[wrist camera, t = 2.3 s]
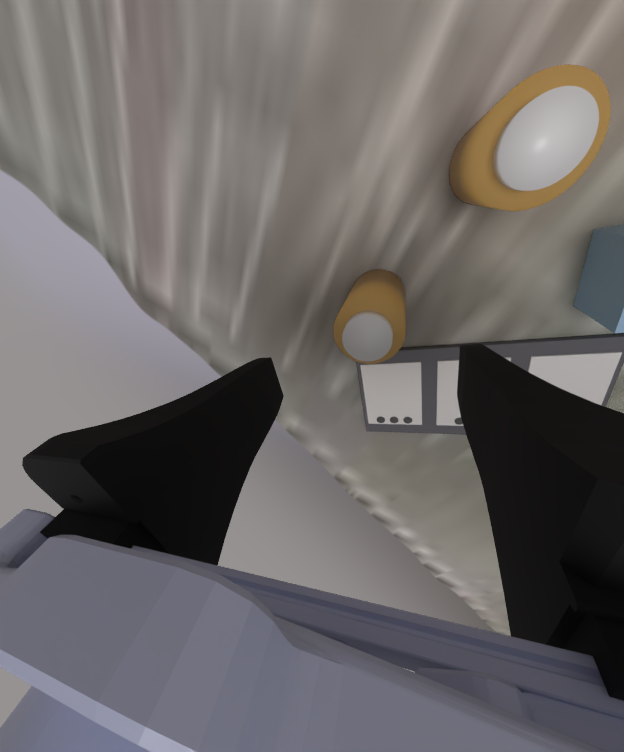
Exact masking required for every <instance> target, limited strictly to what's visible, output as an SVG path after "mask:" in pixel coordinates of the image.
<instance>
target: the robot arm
mask: <svg viewBox="0 0 624 752" xmlns="http://www.w3.org/2000/svg"><path fill="white" fill-rule="evenodd" d="M457 398H458V404H459V410H460V415H461V420H462V423H463V426H464V429H465V432H466V435H467V438H468V441H469V444H470V447H471V450H472V453H473V456H474V459H475V462H476V465H477V468H478V471H479V474H480V477H481V481H482V484H483V488H484V493H485V497H486V502H487V507H488V512H489V516H490V521H491V526H492V531H493V536H494V542H495V547H496V552H497V557H498V563H499V568H500V574H501V579H502V585H503V590H504V596H505V602H506V608H507V614H508V620H509V626H510V632H511V636H507V635H503V634H499V633H495V632H491V631H486V630H482V629H478V628H474V627H470V626H465V625H461V624H457V623H453V622H449V621H445V620H441V619H437V618H433V617H428V616H424V615H420V614H416V613H411V612H408V611H404V610H399V609H395V608H391V607H387V606H383V605H379V604H375V603H370V602H366V601H362V600H358V599H354V598H350V597H345V596H341V595H337V594H333V593H329V592H325V591H320V590H316V589H312V588H308V587H304V586H299V585H296V584H292V583H287V582H283V581H279V580H275V579H271V578H267V577H262V576H258V575H254V574H250V573H245V572H241V571H237V570H233V569H229V568H225V567H221V566H217V565H218V561H219V558H220V554H221V550H222V547H223V543H224V539H225V536H226V533H227V530H228V527H229V524H230V520H231V517H232V514H233V511H234V508H235V506H236V503H237V500H238V497H239V494H240V492H241V488H242V486H243V483H244V481H245V479H246V476H247V474H248V471H249V469H250V466H251V464H252V462H253V460H254V458H255V456H256V454H257V452H258V450H259V449H260V447H261V445H262V443H263V441H264V439H265V437H266V435H267V434H268V432H269V430H270V428H271V426H272V424H273V422H274V420H275V418H276V416H277V414H278V411H279V409H280V406H281V403H282V400H283V393H282V390H281V387H280V384H279V381H278V377H277V374H276V371H275V368H274V365H273V362H272V359H271V357H270V358H258V359H255V360H253V361H251V362H248V363H246V364H244V365H243V366H241V367H239V368H237V369H235V370H233V371H232V372H230V373H228V374H226V375H224V376H223V377H221V378H219V379H217V380H215V381H213V382H211V383H210V384H208V385H206V386H204V387H202V388H200V389H198V390H196V391H194V392H192V393H190V394H188V395H186V396H184V397H181V398H179V399H177V400H174V401H172V402H170V403H167V404H164V405H162V406H159V407H156V408H154V409H151V410H148V411H145V412H142V413H140V414H137V415H133V416H131V417H127V418H124V419H121V420H117V421H113V422H110V423H106V424H102V425H98V426H94V427H89V428H85V429H81V430H76V431H72V432H68V433H62V434H60V435H57V436H54V437H52V438H50V439H48V440H47V441H46V442H44V443H43V444H42V445H40V446H39V447H37V448H36V449H35V450H33V451H32V452H30V453H29V454H27V455H26V456H25V457H24V458H23V465H22V466H23V468H24V470H25V472H26V473H27V474H28V476H29V477H30V478H31V479H32V480H33V481H34V482H35V483H36V484H37V485H38V486H39V487H40V488H41V489H42V490H43V491H45V492H46V493H47V494H48V495H49V496H50V497H51V498H52V499H53V500H54V501H55V502H57V503H58V504H59V505H60V506H61V507H62V508H64V510H63V511H62V512H61V513H60V514H58V515H57V516H56V517H54V516H52V515H50V514H48V513H45V512H40V511H36V510H31V509H25V510H23V511H21V512H20V513H19V514H18V515H17V516H16V517H14V518H13V519H12V520H11V521H10V522H8V523H7V524H6V525H5V526H4V527H2V528H1V529H0V667H1V668H3V669H5V670H6V671H8V672H10V673H11V674H13V675H15V676H17V677H18V678H20V679H22V680H24V681H25V682H27V683H29V684H30V685H32V686H31V688H30V689H29V691H28V692H27V693H26V695H25V696H24V697H23V698H22V700H21V701H20V703H19V704H18V705H17V706H16V708H15V709H14V711H13V712H12V713H11V714H10V716H9V717H8V718H7V720H6V721H5V722H4V724H3V725H2V726H1V728H0V752H624V413H621V412H618V411H615V410H612V409H609V408H607V407H604V406H601V405H599V404H596V403H594V402H591V401H589V400H586V399H584V398H582V397H579V396H577V395H575V394H572V393H570V392H567V391H565V390H563V389H561V388H559V387H557V386H554V385H552V384H550V383H549V382H547V381H545V380H543V379H541V378H539V377H537V376H535V375H533V374H531V373H529V372H528V371H526V370H524V369H522V368H520V367H519V366H517V365H515V364H514V363H512V362H510V361H509V360H507V359H505V358H504V357H502V356H501V355H499V354H497V353H496V352H494V351H493V350H491V349H489V348H488V347H486V346H484V345H482V344H470V345H460V354H459V369H458V384H457ZM404 668H405V669H404ZM406 669H409V670H412V671H415V673H414V672H411V671H409V670H406Z"/></svg>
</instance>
